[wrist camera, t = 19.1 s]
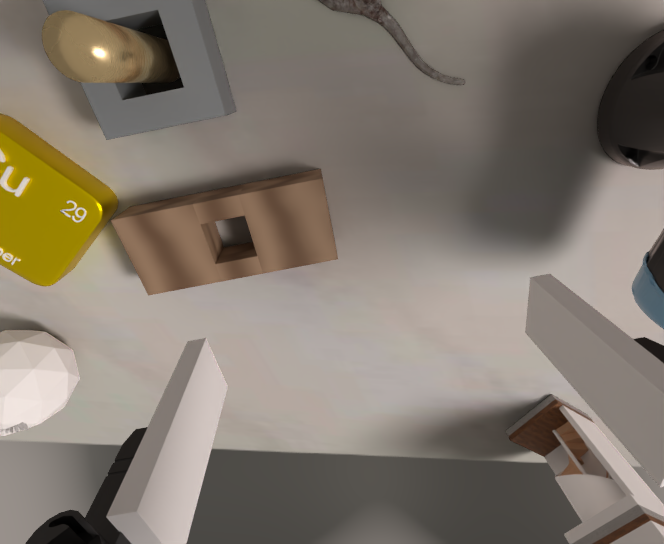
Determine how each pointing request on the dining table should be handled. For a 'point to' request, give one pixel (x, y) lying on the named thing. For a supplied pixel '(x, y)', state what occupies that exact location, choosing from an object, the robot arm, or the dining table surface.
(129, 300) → the dining table surface
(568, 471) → the spiral staircase model
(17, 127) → the element tile
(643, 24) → the dining table surface
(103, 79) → the golden rounded rod
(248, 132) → the dining table surface
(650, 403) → the robot arm
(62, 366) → the geodesic sphere
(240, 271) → the beam
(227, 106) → the seat block
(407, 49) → the pliers
